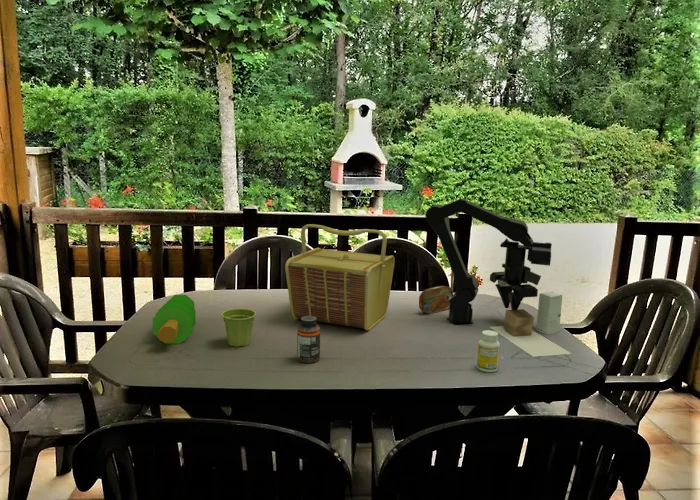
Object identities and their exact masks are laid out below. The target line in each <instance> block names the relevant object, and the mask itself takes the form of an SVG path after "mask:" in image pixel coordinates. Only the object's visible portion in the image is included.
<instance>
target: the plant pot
mask: <svg viewBox="0 0 700 500" xmlns="http://www.w3.org/2000/svg"><path fill="white" fill-rule="evenodd" d="M256 316H257V312H256V311H255V310H253V309H249V308H233V309H232V308H231V309H228V310H224V311H222V313H221V317H222V319H223V322H224V325H225V326H224V327H225V333H226V339H227V343H228V345H229V346H231V347H237V348H238V347H241V346H243V347H244V346H245V347H246V346H248V345H250V344H251V340H252V331H253V326H254V325H253V324H254V320H255V317H256Z"/></svg>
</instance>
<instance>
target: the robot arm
mask: <svg viewBox="0 0 700 500" xmlns="http://www.w3.org/2000/svg"><path fill="white" fill-rule="evenodd" d="M459 213H463V214H464V215H466V216H469V217H471V218H474V219H475V220H477V221H480V222H482V223H484V224H486V225H489V226H491V227H492V228H494V229H495V230H497V231H499V232H500V233H502V235H504V236H505V237H506V238H505V239H504V240H503V241H502V242H500V244H499V246H500V247H501V248H506V250H505V260H504V262H505V263H502V264H501V267H502V268H503V269H504V271H492V273H491V274H490V275H489V281H490V282H491V283H493V284H494V283H496V282H497V283H496V284H495V285H494V286H495V288H496V289H497V291H498V293H499V294H498V295H499V296H500V298H501V301H502V304H503V307H504V309H509V308H511V309H510V310H517V309H519V307H520V306H521V304H522V301H523V299H524V298H525V299H526V298H537V297H538V296H539V294H538V292H539V289H538V288H537V287H536V286H538V285H539V283H540V280H541V278H542V275H539V274H537V273H535V272H533V271H531V267H529V266H527V265H525V264H526V263H525V261H526V259H527V261H528V262H529V263H530V265H538V266H539V265H540V266H546V267H549V266H551V262H552V243H551V242H535V241H534V240H533V238H532V237H531V235H530V234H529V227H528V225H527V223H526V222H525V221H523V220H520V219H515V218H512V217H508V216H503V215H501V214H498V213H495V212H493V211H491V210H489V209H486V208H484V207H482V206H481V205H477V204H476V203H474V202H471V201H470V200H468V199H466V198H465V197H464V198H463V197H462V198H459V199H457V200H455V201H453V202H450V203H447V204H444V205H441V204H435V205H432V206H430V207H429V208H428V209H426V212H425V213H424V214H425V219H426V222H427V223H428V224H429V227H431V229H432V230H433V232H434V233H435V234H436V235H437V237H438V240H439V242H440V244H441V247H442V249H443V251H444V254H445V258H446V259H447V261H448V264H449V266H450V269H451V271H452V275H453V276H454V283H455V290H456V292H454V293H453V296H452V298H451V299H450V307H449V308H448V317H446V320H447V321H448V322H450V323H451V324H452V325H454V326H464V325H467V326H468V325H473V324H474V322H472V321H473V310H474V308H473V305H472V304H471V302H472V301H474V300H475V298H476V297H477V295H478V294H479V286H480V283H479V282H478V280H477V277H476V274H475V273H472V274H470V272H469V271H468V270H467V267H466V266H465V263H464V261H463V259H462V255H461V253H460V250H459V248H458V245H457V243H456V241H455V239H454V236H453V234H452V231H451V226H450V217H451V216H453V215H454V216H455V215H456V214H459ZM509 239H510V240H511V241H510V240H509ZM526 250H527V251H526ZM526 252H527V254H526ZM526 255H527V258H526ZM532 284H533V285H535V286H533V285H532Z"/></svg>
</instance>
